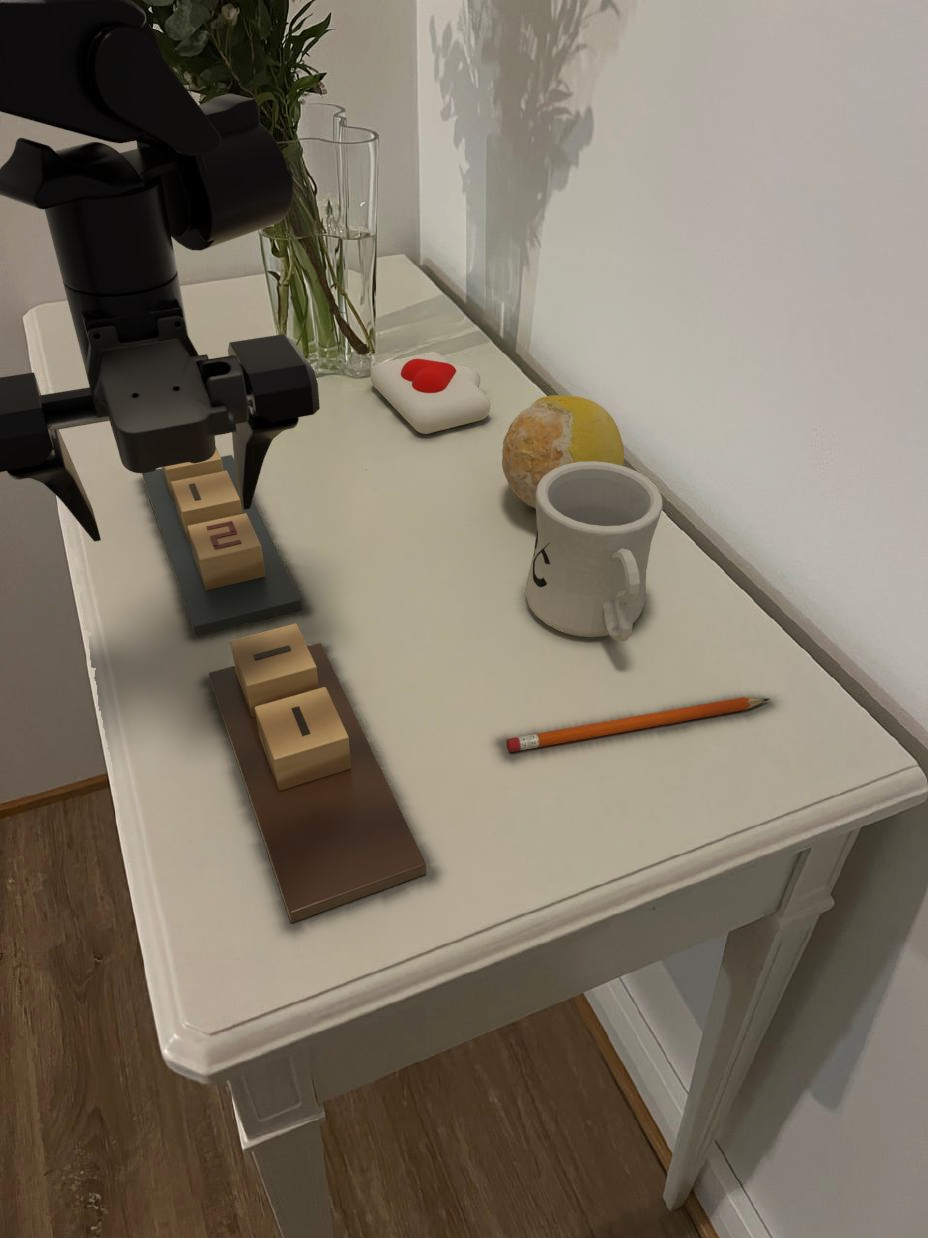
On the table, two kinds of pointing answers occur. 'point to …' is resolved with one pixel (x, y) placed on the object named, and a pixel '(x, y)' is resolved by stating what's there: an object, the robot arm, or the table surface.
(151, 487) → the back word strip
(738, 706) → the pencil
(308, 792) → the strip
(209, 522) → the number block
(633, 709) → the table surface
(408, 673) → the table surface
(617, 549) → the mug
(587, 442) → the fruit
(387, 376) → the icon
